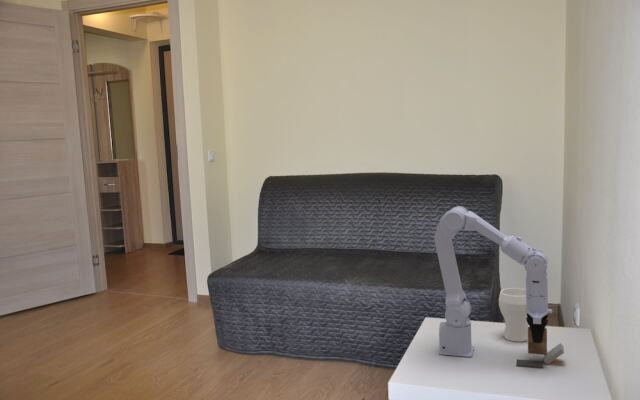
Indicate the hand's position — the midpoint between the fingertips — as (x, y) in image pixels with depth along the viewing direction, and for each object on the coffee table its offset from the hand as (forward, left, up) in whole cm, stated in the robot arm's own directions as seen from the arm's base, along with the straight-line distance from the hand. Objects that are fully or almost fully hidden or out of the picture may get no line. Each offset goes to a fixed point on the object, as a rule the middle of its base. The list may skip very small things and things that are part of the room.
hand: (537, 340), depth 156 cm
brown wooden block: (0, 0, -4) cm, 4 cm away
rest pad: (-2, -3, -6) cm, 7 cm away
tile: (+2, 0, -6) cm, 6 cm away
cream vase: (-6, +18, -6) cm, 20 cm away
